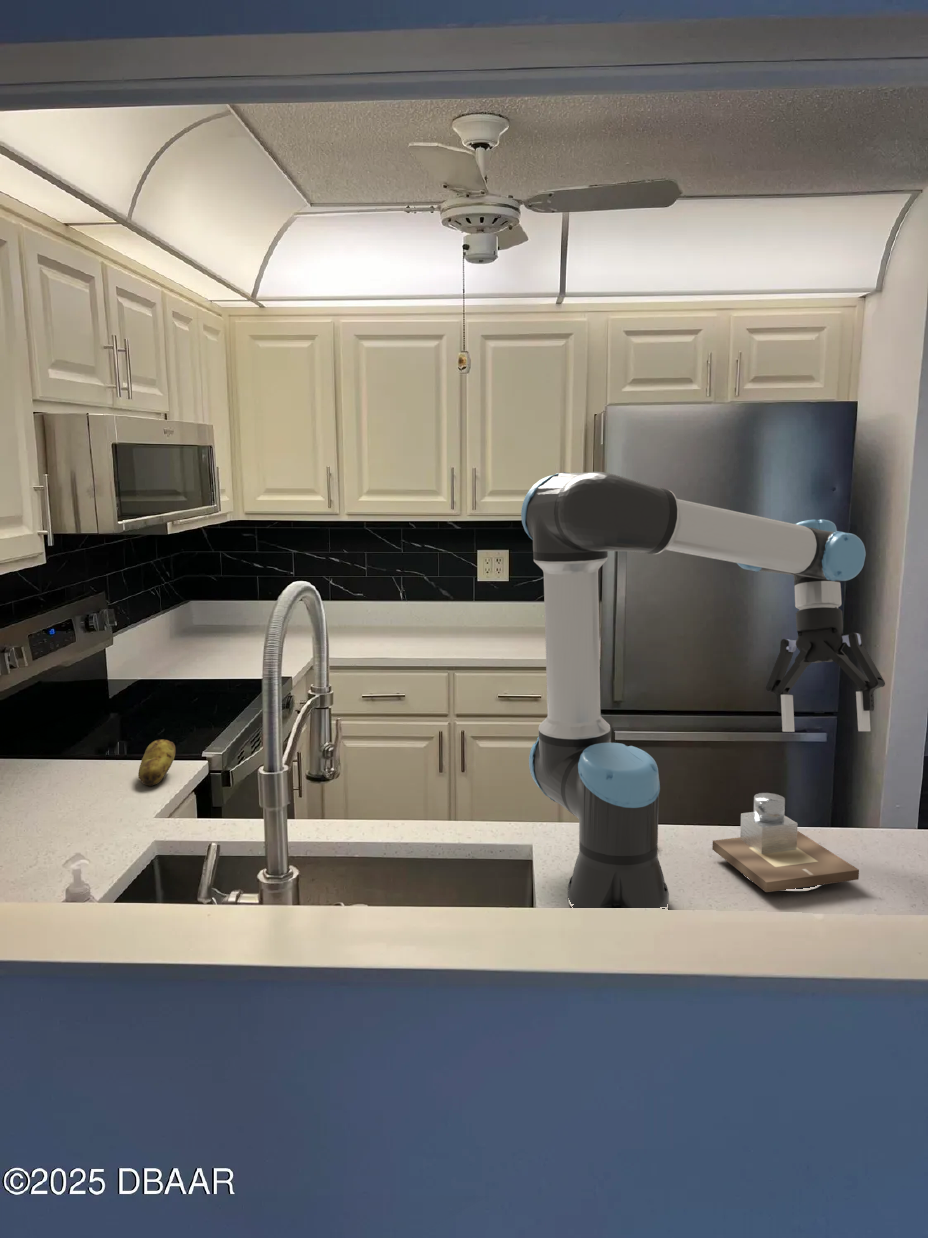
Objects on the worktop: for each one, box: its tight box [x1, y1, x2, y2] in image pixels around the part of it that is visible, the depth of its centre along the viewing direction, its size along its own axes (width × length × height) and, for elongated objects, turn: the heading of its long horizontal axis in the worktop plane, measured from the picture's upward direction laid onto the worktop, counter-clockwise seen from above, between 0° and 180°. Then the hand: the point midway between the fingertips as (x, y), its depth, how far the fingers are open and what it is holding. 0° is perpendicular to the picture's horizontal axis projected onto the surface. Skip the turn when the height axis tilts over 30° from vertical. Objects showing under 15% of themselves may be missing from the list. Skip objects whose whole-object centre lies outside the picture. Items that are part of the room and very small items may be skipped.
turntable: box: [712, 830, 860, 893], centre depth 139 cm, size 16×16×2 cm
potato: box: [137, 739, 176, 787], centre depth 190 cm, size 8×13×8 cm, turn 166°
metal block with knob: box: [739, 792, 798, 854], centre depth 142 cm, size 6×6×8 cm
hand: (825, 731), depth 147 cm, fingers open, 13 cm apart
